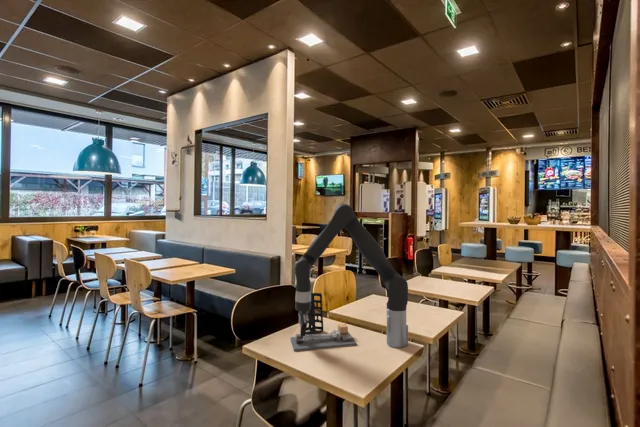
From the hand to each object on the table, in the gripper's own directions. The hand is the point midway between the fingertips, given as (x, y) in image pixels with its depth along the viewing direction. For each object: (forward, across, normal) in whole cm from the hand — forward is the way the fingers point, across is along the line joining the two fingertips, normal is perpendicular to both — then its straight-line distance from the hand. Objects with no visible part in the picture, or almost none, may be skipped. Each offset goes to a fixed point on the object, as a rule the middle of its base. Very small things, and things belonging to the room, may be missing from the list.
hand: (302, 335), depth 164 cm
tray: (+4, 0, -10) cm, 11 cm away
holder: (+4, +14, -8) cm, 17 cm away
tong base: (+3, +1, -10) cm, 11 cm away
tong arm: (+1, 0, -6) cm, 6 cm away
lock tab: (+1, +4, -21) cm, 22 cm away
